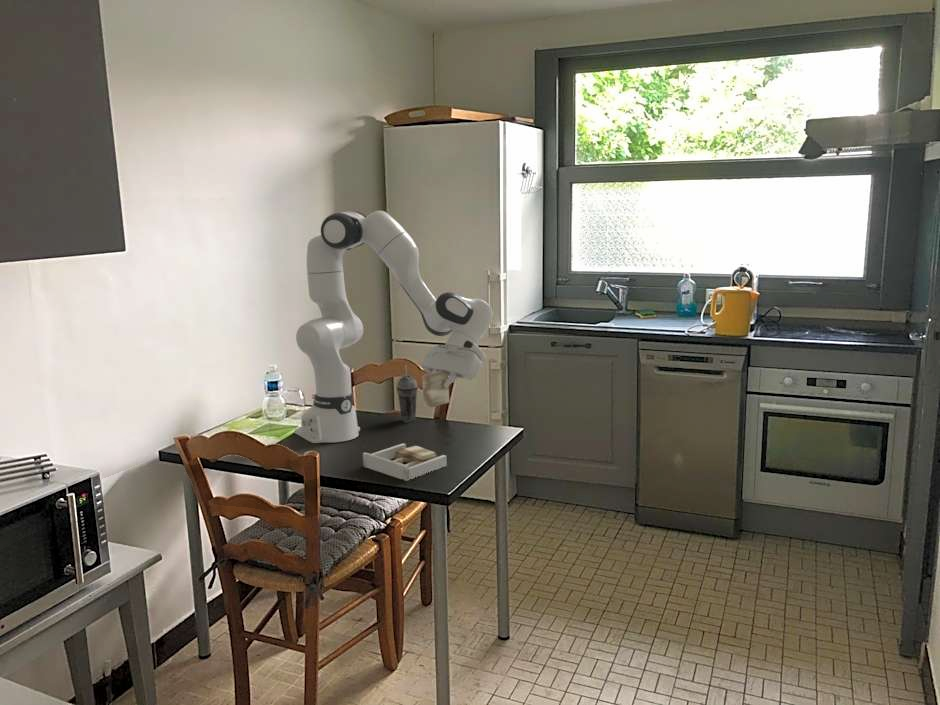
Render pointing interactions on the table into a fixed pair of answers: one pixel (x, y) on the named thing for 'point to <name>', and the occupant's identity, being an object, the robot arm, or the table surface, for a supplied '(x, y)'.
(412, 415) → the beverage cup
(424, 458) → the offcut stack
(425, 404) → the pale wooden block
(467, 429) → the table surface
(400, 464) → the tray
